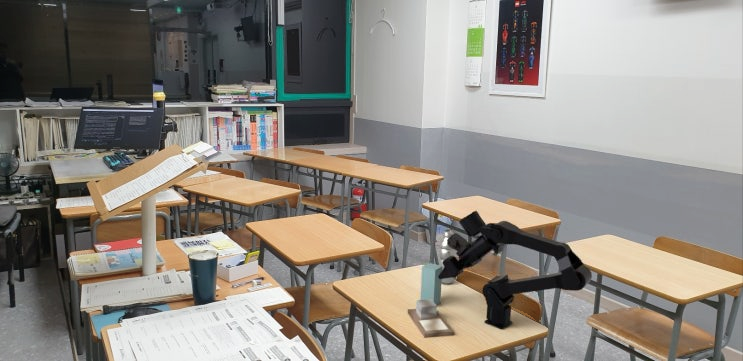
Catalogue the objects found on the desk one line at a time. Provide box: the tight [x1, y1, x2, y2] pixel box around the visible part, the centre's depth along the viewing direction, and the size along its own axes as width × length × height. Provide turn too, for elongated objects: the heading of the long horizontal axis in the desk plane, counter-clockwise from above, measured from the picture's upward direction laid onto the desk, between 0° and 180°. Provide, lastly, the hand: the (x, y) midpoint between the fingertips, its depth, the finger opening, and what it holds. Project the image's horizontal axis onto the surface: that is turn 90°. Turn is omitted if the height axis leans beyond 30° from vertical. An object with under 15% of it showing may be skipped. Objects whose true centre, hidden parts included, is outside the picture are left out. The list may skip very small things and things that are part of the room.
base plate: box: [407, 299, 454, 338], centre depth 163 cm, size 9×17×5 cm, turn 13°
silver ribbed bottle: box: [438, 229, 457, 285], centre depth 196 cm, size 6×7×20 cm
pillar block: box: [419, 262, 443, 306], centre depth 178 cm, size 5×5×13 cm
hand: (445, 273), depth 174 cm, fingers open, 9 cm apart
